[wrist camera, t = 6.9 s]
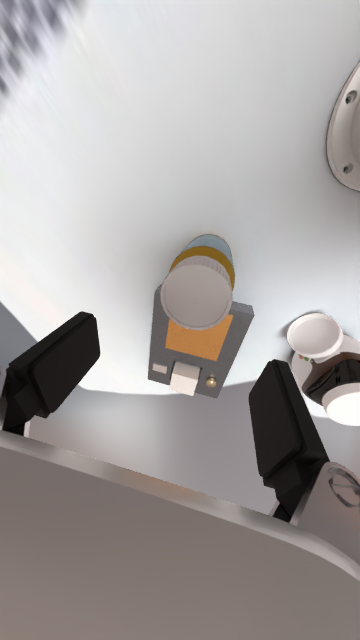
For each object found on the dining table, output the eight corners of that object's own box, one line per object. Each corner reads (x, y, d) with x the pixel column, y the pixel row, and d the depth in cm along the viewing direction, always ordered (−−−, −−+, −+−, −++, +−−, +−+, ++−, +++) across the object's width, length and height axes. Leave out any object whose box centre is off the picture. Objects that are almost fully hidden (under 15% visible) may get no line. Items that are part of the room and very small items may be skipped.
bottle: (177, 266, 29) (143, 310, 17) (200, 224, 26) (177, 240, 13) (214, 288, 30) (207, 345, 18) (241, 250, 26) (256, 289, 14)
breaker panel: (251, 306, 30) (255, 317, 27) (217, 387, 42) (216, 401, 39) (160, 285, 32) (153, 293, 29) (152, 369, 44) (146, 382, 41)
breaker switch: (200, 361, 38) (197, 380, 34) (196, 376, 41) (192, 396, 37) (177, 355, 39) (172, 373, 34) (174, 371, 41) (169, 389, 37)
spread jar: (318, 373, 35) (355, 438, 25) (263, 353, 35) (278, 409, 25) (373, 326, 28) (451, 388, 18) (304, 301, 28) (346, 350, 19)
